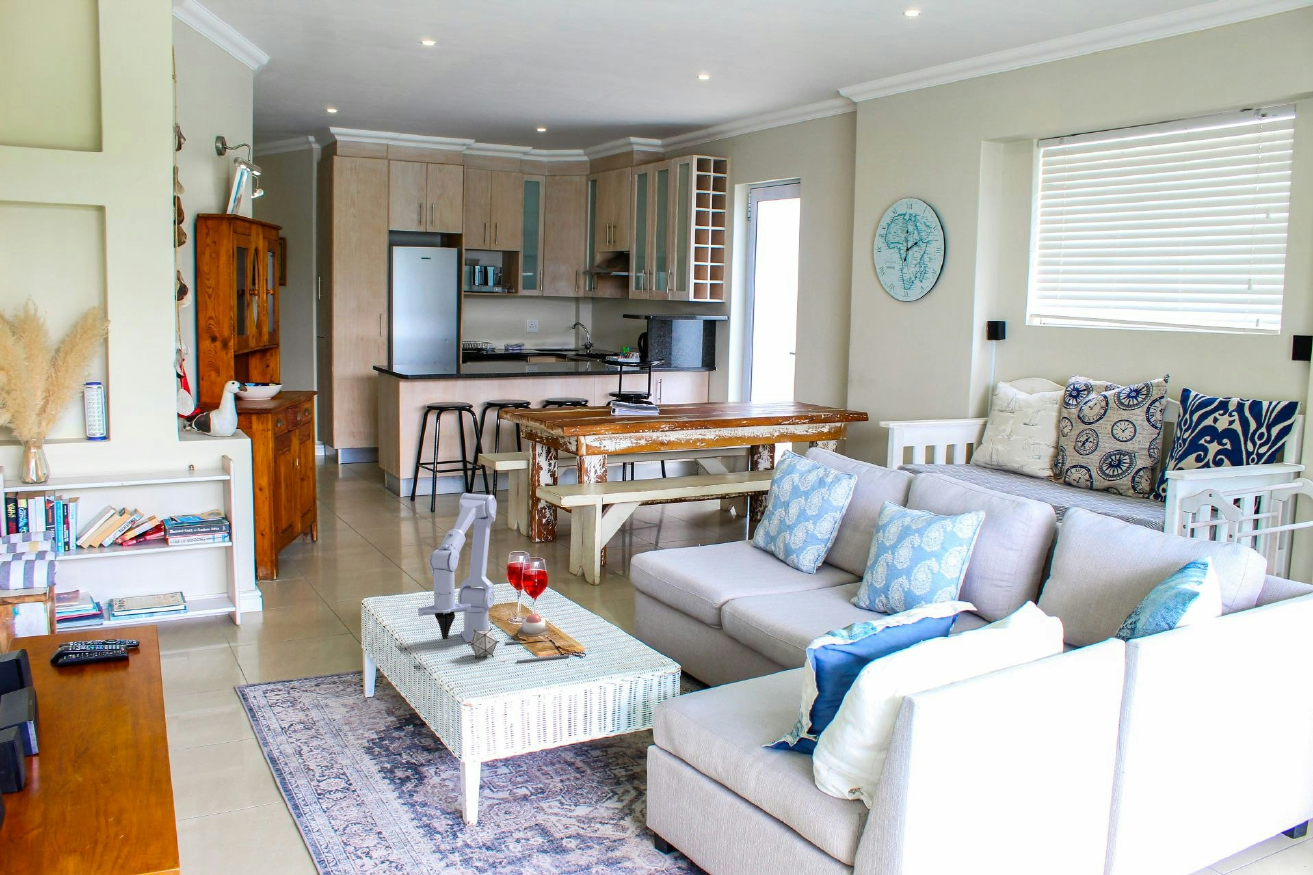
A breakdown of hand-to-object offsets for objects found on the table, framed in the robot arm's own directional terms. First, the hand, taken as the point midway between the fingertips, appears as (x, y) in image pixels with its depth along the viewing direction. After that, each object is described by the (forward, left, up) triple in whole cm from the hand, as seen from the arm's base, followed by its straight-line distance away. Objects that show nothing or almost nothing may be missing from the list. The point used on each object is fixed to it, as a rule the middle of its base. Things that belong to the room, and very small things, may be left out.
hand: (444, 638), depth 296 cm
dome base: (-14, +29, -7) cm, 33 cm away
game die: (0, +11, -7) cm, 13 cm away
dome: (-14, +29, -5) cm, 33 cm away
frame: (0, +26, -7) cm, 27 cm away
